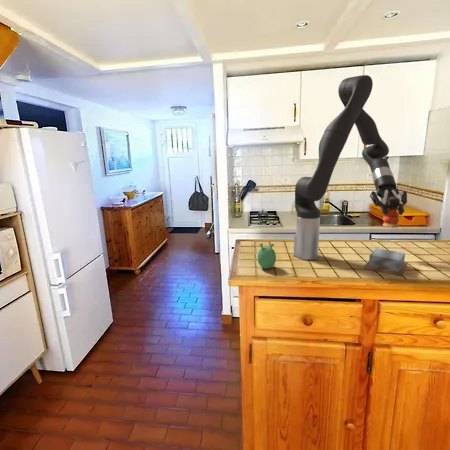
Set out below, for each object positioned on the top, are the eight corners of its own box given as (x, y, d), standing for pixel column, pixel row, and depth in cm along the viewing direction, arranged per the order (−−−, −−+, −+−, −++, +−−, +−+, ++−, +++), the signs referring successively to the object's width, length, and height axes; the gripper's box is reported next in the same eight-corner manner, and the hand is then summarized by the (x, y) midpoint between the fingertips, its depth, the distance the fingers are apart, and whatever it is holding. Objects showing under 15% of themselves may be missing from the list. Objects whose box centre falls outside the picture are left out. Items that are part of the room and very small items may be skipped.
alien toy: (273, 263, 114) (274, 239, 112) (277, 271, 106) (277, 245, 104) (256, 264, 114) (256, 240, 112) (258, 271, 107) (258, 246, 104)
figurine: (401, 228, 112) (405, 198, 109) (385, 228, 113) (389, 197, 110) (395, 224, 118) (399, 195, 115) (380, 224, 119) (384, 195, 116)
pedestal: (364, 268, 107) (366, 255, 106) (372, 259, 116) (373, 247, 115) (401, 276, 100) (403, 262, 99) (407, 265, 109) (408, 252, 108)
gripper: (369, 174, 118) (378, 208, 109) (405, 174, 117) (418, 208, 108) (363, 186, 125) (371, 219, 116) (397, 185, 123) (408, 219, 114)
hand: (393, 213), depth 112 cm, fingers closed on figurine, 5 cm apart
